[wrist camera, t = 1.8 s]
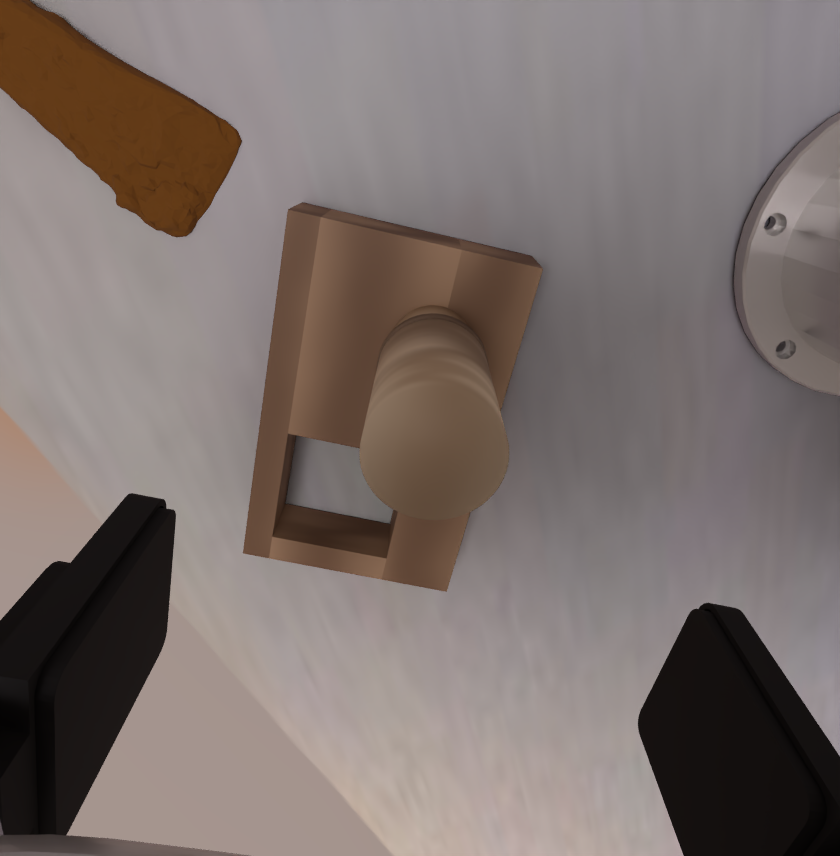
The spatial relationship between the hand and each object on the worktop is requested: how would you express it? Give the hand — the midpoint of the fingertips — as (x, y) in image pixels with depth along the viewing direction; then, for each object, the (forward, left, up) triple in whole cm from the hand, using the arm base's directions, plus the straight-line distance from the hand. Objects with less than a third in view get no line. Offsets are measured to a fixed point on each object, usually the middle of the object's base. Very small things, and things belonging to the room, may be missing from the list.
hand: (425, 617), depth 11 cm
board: (+1, +4, -19) cm, 20 cm away
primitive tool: (+18, -8, -20) cm, 28 cm away
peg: (0, 0, -16) cm, 16 cm away
